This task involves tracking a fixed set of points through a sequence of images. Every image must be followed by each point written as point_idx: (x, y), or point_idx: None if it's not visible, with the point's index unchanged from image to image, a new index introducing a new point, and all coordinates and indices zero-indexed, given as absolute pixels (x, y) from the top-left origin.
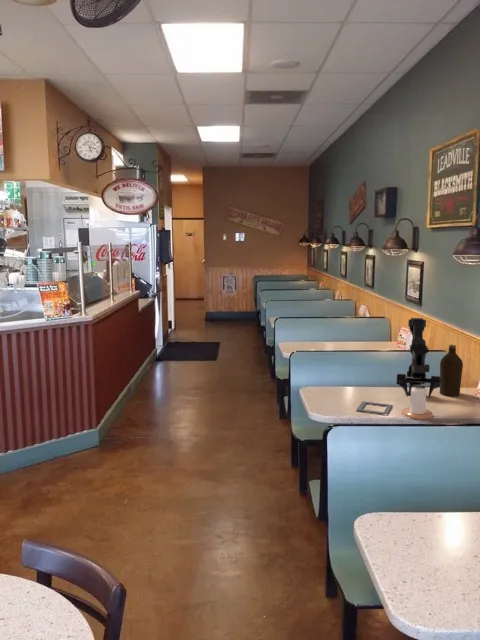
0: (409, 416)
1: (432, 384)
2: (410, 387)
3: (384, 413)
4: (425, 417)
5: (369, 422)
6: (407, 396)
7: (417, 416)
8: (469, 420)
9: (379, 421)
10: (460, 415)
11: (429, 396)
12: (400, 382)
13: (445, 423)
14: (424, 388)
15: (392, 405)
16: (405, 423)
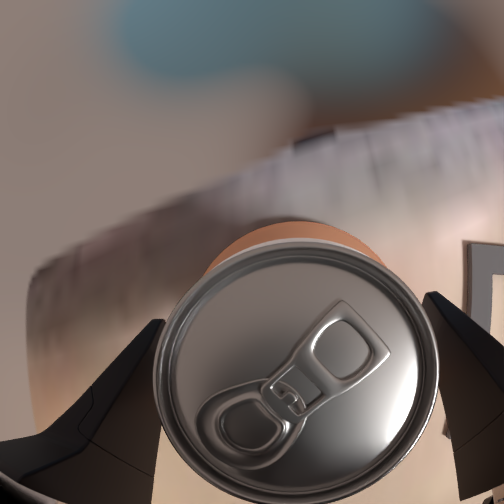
0: (344, 233)
1: (40, 446)
2: None
3: (484, 249)
4: (234, 243)
5: (489, 117)
6: (422, 304)
7: (289, 235)
8: (38, 314)
9: (467, 136)
10: (67, 383)
11: (151, 322)
12: None
13: (127, 224)
14: (171, 329)
15: (448, 435)
16: (349, 139)
